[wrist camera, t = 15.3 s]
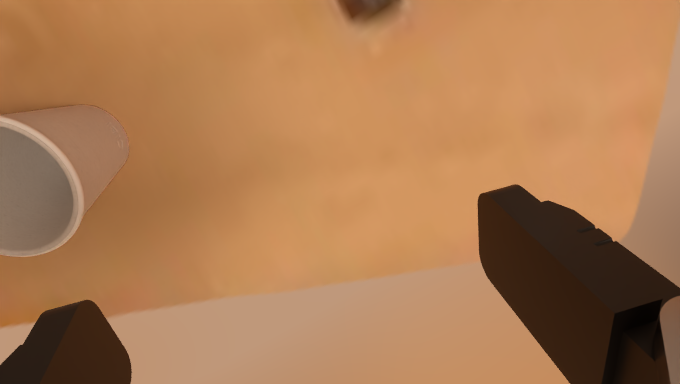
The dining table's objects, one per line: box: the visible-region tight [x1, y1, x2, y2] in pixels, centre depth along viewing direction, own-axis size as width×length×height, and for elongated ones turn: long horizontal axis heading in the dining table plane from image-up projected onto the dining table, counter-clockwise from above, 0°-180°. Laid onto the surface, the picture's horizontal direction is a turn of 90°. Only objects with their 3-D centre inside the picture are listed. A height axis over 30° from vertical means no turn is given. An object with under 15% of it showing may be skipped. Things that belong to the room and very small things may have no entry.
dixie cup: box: [0, 105, 129, 257], centre depth 28 cm, size 8×8×10 cm
